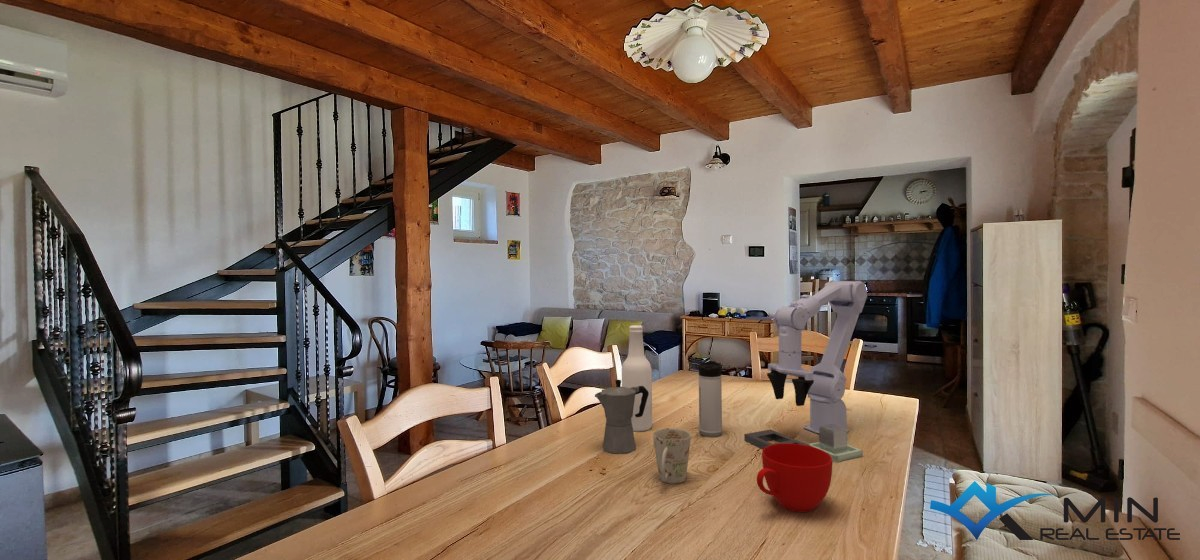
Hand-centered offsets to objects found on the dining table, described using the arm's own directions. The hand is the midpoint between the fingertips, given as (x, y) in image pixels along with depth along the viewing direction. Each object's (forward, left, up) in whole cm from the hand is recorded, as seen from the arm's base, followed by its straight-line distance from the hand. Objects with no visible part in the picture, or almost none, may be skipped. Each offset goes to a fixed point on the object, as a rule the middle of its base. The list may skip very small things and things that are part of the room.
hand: (789, 402), depth 138 cm
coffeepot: (+42, -15, -11) cm, 46 cm away
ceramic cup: (+27, +29, -11) cm, 41 cm away
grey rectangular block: (-3, +12, -10) cm, 16 cm away
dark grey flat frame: (+6, +5, -10) cm, 13 cm away
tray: (-3, +12, -10) cm, 16 cm away
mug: (+42, +9, -11) cm, 45 cm away
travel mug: (+15, -14, -11) cm, 23 cm away
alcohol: (+31, -28, -11) cm, 43 cm away
